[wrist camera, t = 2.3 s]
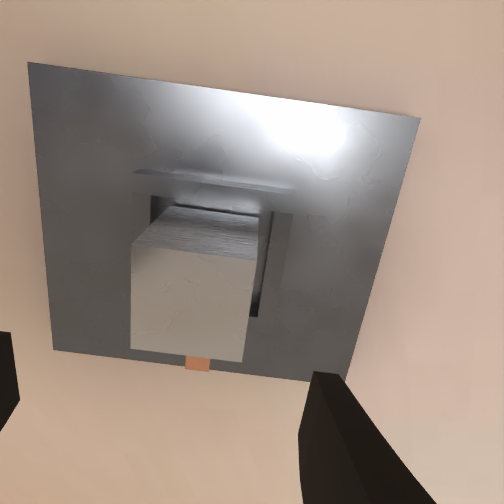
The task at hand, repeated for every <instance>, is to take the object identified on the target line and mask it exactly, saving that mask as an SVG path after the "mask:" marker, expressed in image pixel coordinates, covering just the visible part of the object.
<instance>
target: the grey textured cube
mask: <svg viewBox="0 0 504 504" xmlns="http://www.w3.org/2000/svg"><path fill="white" fill-rule="evenodd" d="M258 219H259V218H258V217H251V216H243V215H236V214H229V213H221V212H214V211H206V210H199V209H192V208H184V207H177V206H169V207H168V208H167V209H166V210H165V211H164V212H163V213H162V214H161V215H160V216H159V217H158V218H157V219H156V220H155V221H154V222H153V223H152V224H151V225H150V226H149V227H148V228H147V229H146V230H145V231H144V232H143V233H142V234H141V235H140V236H139V237H138V238H137V239H136V240H135V241H134V242H133V243H132V244H131V349H138V350H146V351H154V352H162V353H170V354H178V355H186V356H194V357H202V358H210V359H218V360H225V361H233V362H241V363H242V358H243V351H244V344H245V338H246V331H247V324H248V318H249V311H250V304H251V297H252V291H253V284H254V277H255V271H256V264H257V246H258Z"/></svg>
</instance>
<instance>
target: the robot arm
mask: <svg viewBox="0 0 504 504" xmlns="http://www.w3.org/2000/svg"><path fill="white" fill-rule="evenodd" d="M19 401H20V396H19V389H18V382H17V375H16V368H15V361H14V354H13V346H12V339H11V332H3V331H0V431H1V430H2V428H3V427H4V425H5V424H6V422H7V420H8V419H9V417H10V416H11V414H12V412H13V411H14V409H15V407H16V406H17V404H18V402H19ZM298 446H299V470H300V483H301V490H302V497H303V504H436V502H435V501H434V500H433V499H432V498H431V496H430V495H429V494H428V493H427V492H426V490H425V489H424V488H423V487H422V486H421V484H420V483H419V482H418V481H417V480H416V478H415V477H414V476H413V475H412V473H411V472H410V471H409V470H408V468H407V467H406V466H405V464H404V463H403V462H402V461H401V459H400V458H399V457H398V455H397V454H396V453H395V451H394V450H393V449H392V447H391V446H390V445H389V443H388V442H387V441H386V439H385V438H384V437H383V436H382V434H381V433H380V431H379V430H378V429H377V427H376V426H375V425H374V423H373V422H372V420H371V419H370V418H369V416H368V415H367V413H366V412H365V411H364V409H363V408H362V406H361V405H360V404H359V402H358V401H357V399H356V398H355V396H354V395H353V394H352V392H351V391H350V389H349V388H348V386H347V385H346V384H345V382H344V381H343V379H342V378H341V377H340V375H339V374H335V373H327V372H319V371H313V375H312V379H311V383H310V387H309V391H308V395H307V399H306V403H305V407H304V412H303V416H302V420H301V424H300V428H299V432H298Z"/></svg>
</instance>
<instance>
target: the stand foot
mask: <svg viewBox="0 0 504 504" xmlns="http://www.w3.org/2000/svg"><path fill="white" fill-rule="evenodd" d="M27 63H28V74H29V85H30V96H31V108H32V119H33V130H34V141H35V152H36V163H37V174H38V185H39V196H40V207H41V218H42V230H43V241H44V252H45V263H46V274H47V285H48V296H49V307H50V318H51V329H52V340H53V350H58V351H66V352H74V353H82V354H90V355H98V356H106V357H114V358H122V359H130V360H138V361H146V362H154V363H162V364H170V365H178V366H185V369H191V370H199V371H207V372H209V369H210V370H218V371H226V372H234V373H242V374H250V375H258V376H266V377H274V378H282V379H290V380H298V381H306V382H311V379H312V375H313V371H319V372H327V373H335V374H339V375H340V377H341V378H342V379H343V381H344V382H345V380H346V376H347V373H348V369H349V366H350V362H351V359H352V355H353V352H354V348H355V345H356V341H357V338H358V334H359V331H360V328H361V324H362V321H363V317H364V314H365V310H366V307H367V303H368V300H369V296H370V293H371V289H372V286H373V282H374V279H375V275H376V272H377V269H378V265H379V262H380V258H381V255H382V251H383V248H384V244H385V241H386V237H387V234H388V230H389V227H390V223H391V220H392V217H393V213H394V210H395V206H396V203H397V199H398V196H399V192H400V189H401V185H402V182H403V178H404V175H405V171H406V168H407V165H408V161H409V158H410V154H411V151H412V147H413V144H414V140H415V137H416V133H417V130H418V126H419V123H420V119H421V118H416V117H409V116H402V115H395V114H388V113H381V112H374V111H367V110H360V109H353V108H346V107H339V106H332V105H325V104H318V103H311V102H304V101H297V100H290V99H283V98H276V97H269V96H262V95H255V94H248V93H241V92H235V91H228V90H221V89H214V88H207V87H200V86H193V85H186V84H179V83H172V82H165V81H158V80H151V79H144V78H137V77H130V76H123V75H116V74H109V73H102V72H95V71H88V70H81V69H74V68H67V67H60V66H53V65H46V64H39V63H32V62H27ZM169 206H177V207H184V208H192V209H199V210H206V211H214V212H221V213H229V214H236V215H243V216H251V217H258V218H259V219H258V246H257V264H256V271H255V277H254V284H253V291H252V297H251V304H250V311H249V318H248V324H247V331H246V338H245V344H244V351H243V358H242V363H241V362H233V361H225V360H218V359H210V358H202V357H194V356H186V355H178V354H170V353H162V352H154V351H146V350H138V349H131V244H132V243H133V242H134V241H135V240H136V239H137V238H138V237H139V236H140V235H141V234H142V233H143V232H144V231H145V230H146V229H147V228H148V227H149V226H150V225H151V224H152V223H153V222H154V221H155V220H156V219H157V218H158V217H159V216H160V215H161V214H162V213H163V212H164V211H165V210H166V209H167V208H168V207H169Z"/></svg>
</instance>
